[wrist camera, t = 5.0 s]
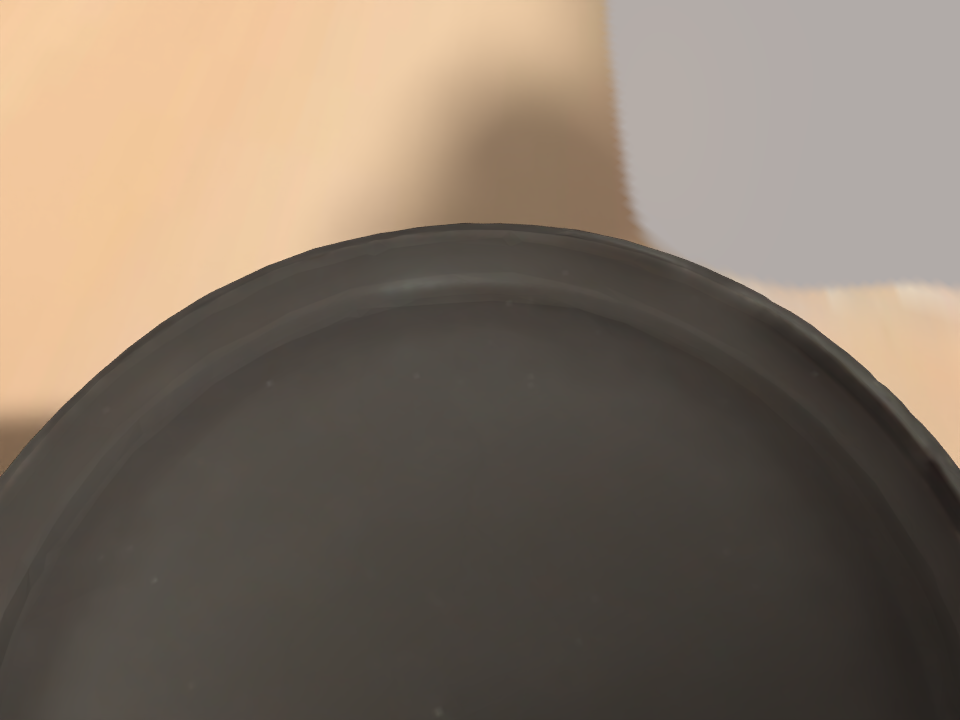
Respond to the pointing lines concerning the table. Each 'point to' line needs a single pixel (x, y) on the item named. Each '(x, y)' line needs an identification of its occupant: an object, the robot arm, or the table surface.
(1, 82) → the table surface
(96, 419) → the coffee can
